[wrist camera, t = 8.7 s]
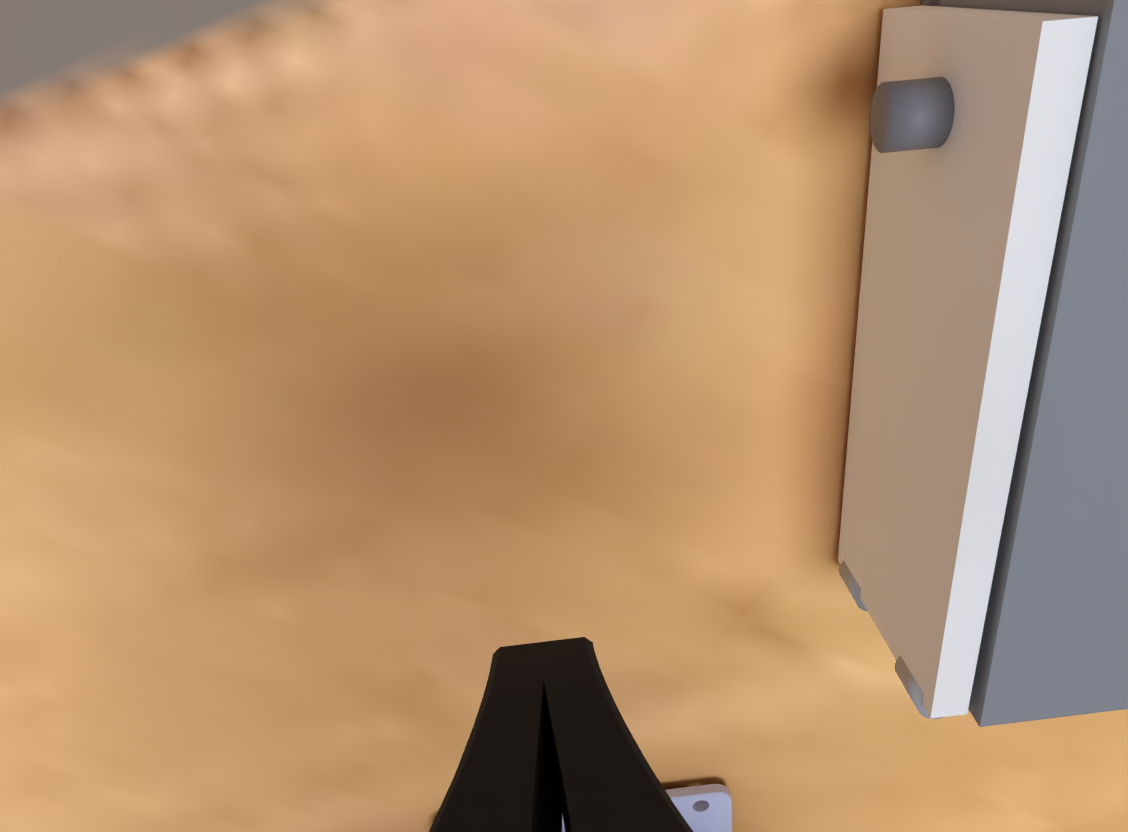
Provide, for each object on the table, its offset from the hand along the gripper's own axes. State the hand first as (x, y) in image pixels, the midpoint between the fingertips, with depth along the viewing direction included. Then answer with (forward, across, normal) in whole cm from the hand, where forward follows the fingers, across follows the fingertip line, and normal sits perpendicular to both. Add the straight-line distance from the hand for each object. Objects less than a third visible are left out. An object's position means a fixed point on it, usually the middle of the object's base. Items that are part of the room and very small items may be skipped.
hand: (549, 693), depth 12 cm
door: (+9, -8, -1) cm, 12 cm away
